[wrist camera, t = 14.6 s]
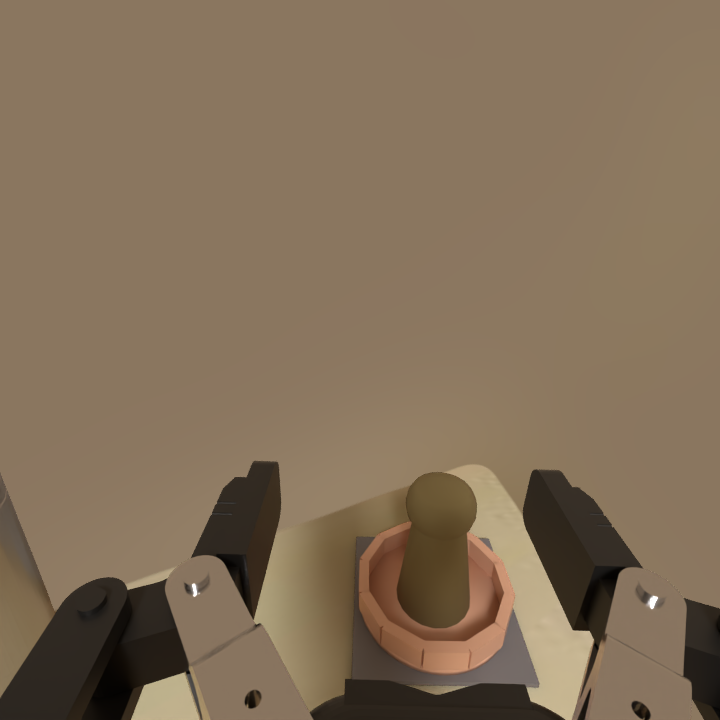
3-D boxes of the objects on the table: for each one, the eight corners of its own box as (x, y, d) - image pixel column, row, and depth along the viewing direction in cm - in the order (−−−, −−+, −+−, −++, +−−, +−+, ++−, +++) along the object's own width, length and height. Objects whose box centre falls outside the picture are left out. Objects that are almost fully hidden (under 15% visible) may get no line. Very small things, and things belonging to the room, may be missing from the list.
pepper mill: (424, 552, 38) (431, 451, 34) (483, 592, 35) (500, 484, 30) (381, 594, 34) (384, 486, 30) (443, 645, 30) (456, 529, 26)
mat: (351, 683, 29) (351, 679, 29) (356, 539, 41) (356, 536, 41) (538, 687, 29) (539, 683, 29) (488, 541, 41) (488, 538, 41)
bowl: (357, 673, 29) (357, 650, 28) (360, 539, 41) (360, 520, 40) (531, 677, 29) (536, 654, 28) (485, 541, 40) (488, 522, 39)
